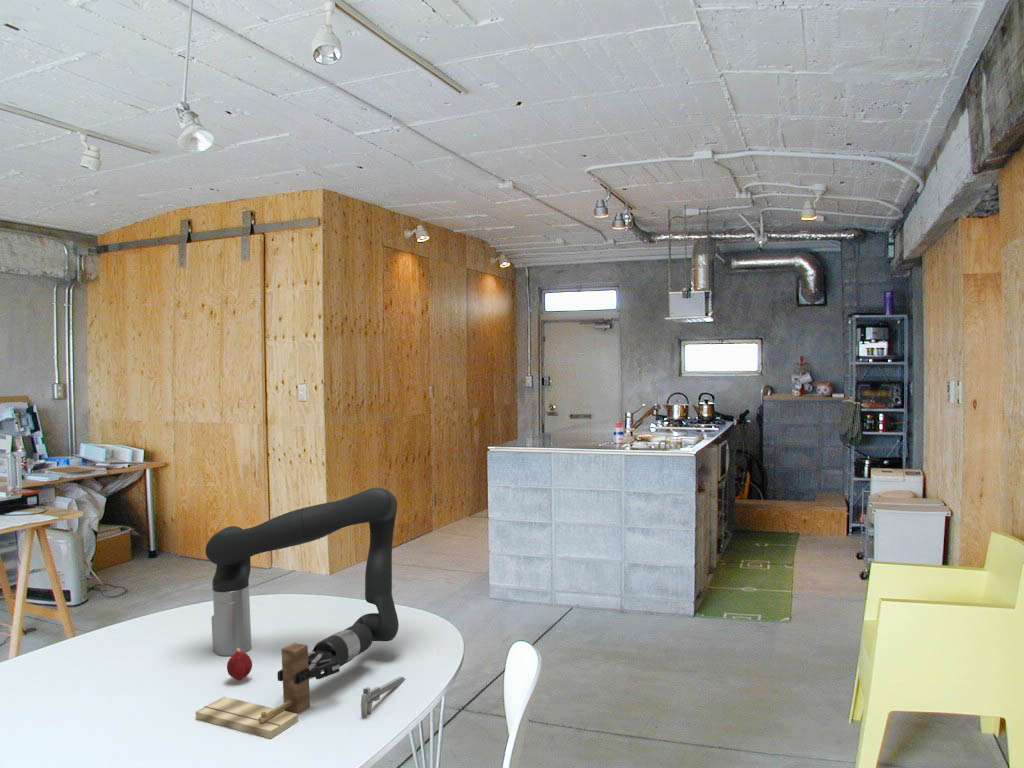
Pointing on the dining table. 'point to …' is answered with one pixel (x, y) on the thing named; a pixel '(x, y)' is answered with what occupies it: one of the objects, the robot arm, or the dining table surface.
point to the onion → (239, 665)
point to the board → (246, 717)
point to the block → (292, 681)
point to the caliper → (376, 695)
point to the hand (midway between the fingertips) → (287, 678)
